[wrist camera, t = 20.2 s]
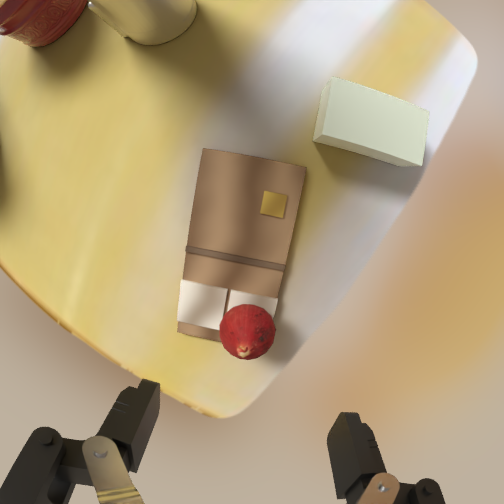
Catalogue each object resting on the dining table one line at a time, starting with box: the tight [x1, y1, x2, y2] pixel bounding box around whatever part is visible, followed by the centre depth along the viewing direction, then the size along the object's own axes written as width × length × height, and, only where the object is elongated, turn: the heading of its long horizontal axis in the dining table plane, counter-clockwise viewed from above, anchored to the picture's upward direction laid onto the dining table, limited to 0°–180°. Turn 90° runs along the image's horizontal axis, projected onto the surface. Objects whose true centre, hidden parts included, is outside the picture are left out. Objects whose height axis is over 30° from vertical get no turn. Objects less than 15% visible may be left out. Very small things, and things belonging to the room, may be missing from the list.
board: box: [177, 148, 306, 342], centre depth 32 cm, size 11×22×1 cm, turn 169°
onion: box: [219, 304, 276, 360], centre depth 30 cm, size 6×6×8 cm
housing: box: [313, 76, 429, 167], centre depth 26 cm, size 11×6×6 cm, turn 79°
